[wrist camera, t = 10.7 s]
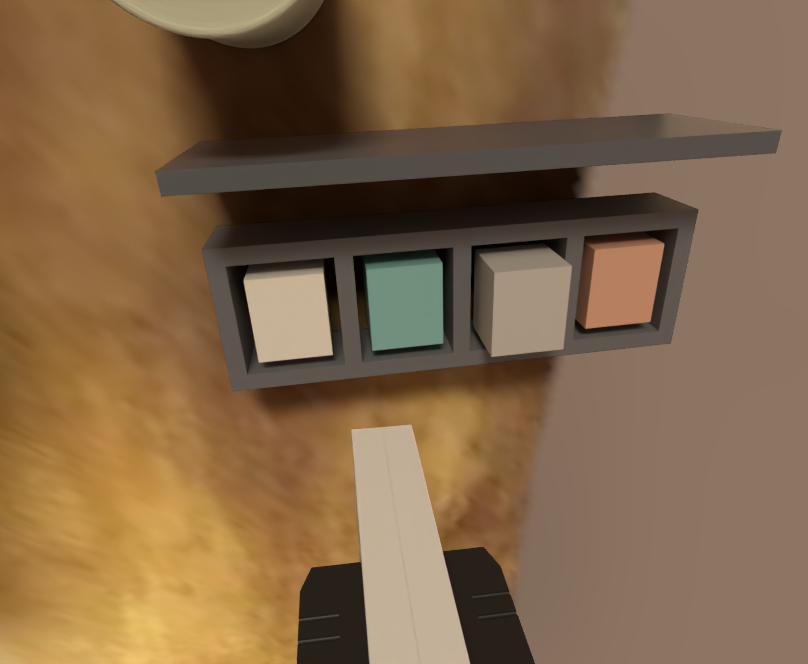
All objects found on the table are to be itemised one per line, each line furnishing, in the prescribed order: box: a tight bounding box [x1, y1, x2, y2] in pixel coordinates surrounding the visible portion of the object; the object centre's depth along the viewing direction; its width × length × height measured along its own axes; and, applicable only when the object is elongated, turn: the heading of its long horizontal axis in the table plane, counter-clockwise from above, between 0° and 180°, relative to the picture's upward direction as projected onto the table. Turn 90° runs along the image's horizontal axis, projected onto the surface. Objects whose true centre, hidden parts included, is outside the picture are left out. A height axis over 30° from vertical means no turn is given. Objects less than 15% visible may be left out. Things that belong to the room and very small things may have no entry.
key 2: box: [362, 249, 443, 351], centre depth 32 cm, size 4×5×4 cm
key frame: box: [202, 193, 698, 391], centre depth 33 cm, size 27×9×4 cm, turn 92°
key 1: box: [243, 258, 333, 363], centre depth 32 cm, size 4×5×4 cm
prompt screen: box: [155, 114, 782, 197], centre depth 27 cm, size 27×1×9 cm, turn 92°
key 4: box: [575, 231, 664, 329], centre depth 34 cm, size 4×5×4 cm
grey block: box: [473, 243, 572, 357], centre depth 31 cm, size 4×5×4 cm
